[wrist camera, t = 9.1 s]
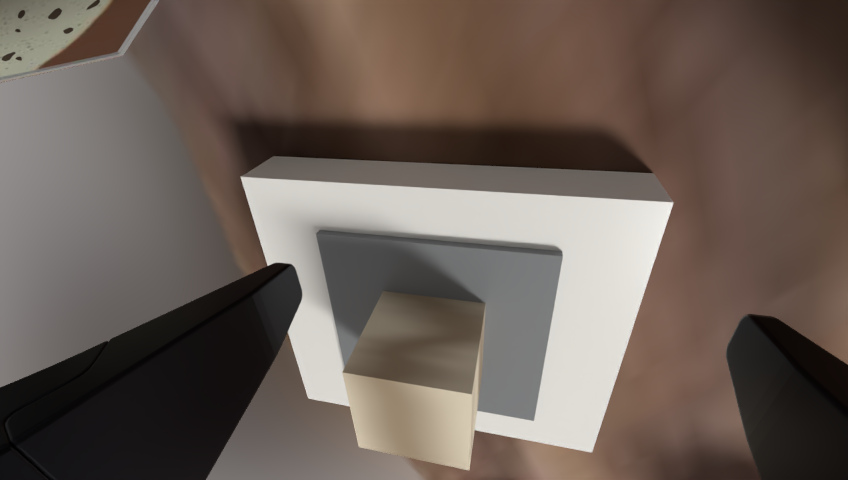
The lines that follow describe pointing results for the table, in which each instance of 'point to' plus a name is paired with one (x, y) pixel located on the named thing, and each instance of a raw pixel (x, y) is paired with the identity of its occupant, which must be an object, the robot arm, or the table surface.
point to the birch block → (418, 378)
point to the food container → (65, 33)
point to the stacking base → (471, 272)
